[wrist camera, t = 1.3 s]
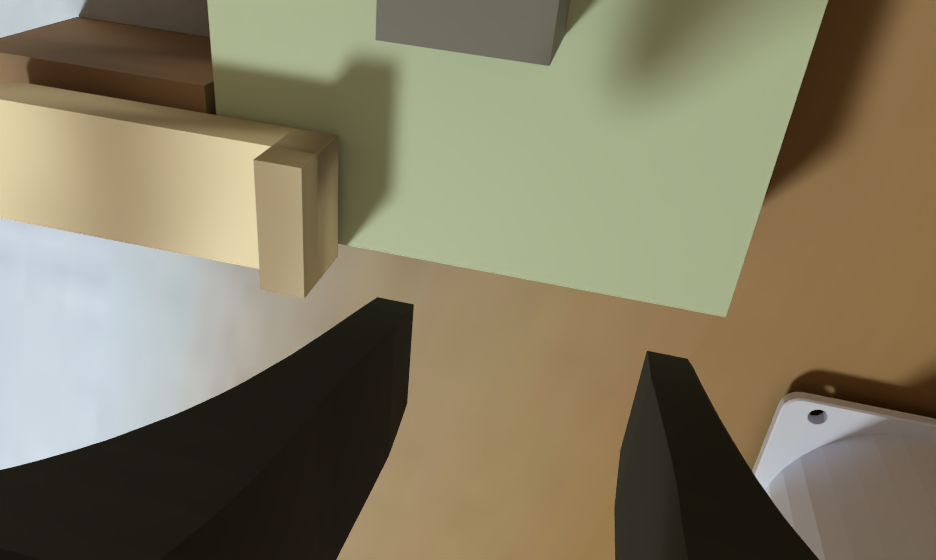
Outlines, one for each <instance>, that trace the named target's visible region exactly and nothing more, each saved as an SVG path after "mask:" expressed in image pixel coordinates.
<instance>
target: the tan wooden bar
mask: <svg viewBox="0 0 936 560" xmlns="http://www.w3.org/2000/svg"><path fill="white" fill-rule="evenodd" d="M0 216H1V218H4V219H9V220H14V221H19V222H24V223H29V224H34V225H39V226H44V227H49V228H54V229H59V230H64V231H69V232H74V233H80V234H85V235H90V236H95V237H100V238H105V239H110V240H115V241H120V242H125V243H130V244H135V245H140V246H145V247H150V248H155V249H161V250H166V251H171V252H176V253H181V254H186V255H191V256H196V257H201V258H206V259H211V260H216V261H221V262H226V263H231V264H236V265H242V266H247V267H252V268H257V269H260V287H261V290H264V291H269V292H274V293H279V294H284V295H289V296H294V297H299V298H303V299H304V298H305V297H306V296H307V295H308V293H309V292H310V291H311V289H312V288H313V287H314V286H315V284H316V283H317V282H318V281H319V279H320V278H321V277H322V276H323V274H324V273H325V272H326V271H327V269H328V268H329V267H330V266H331V264H332V263H333V262H334V260H335V259H336V258H337V257H338V136H337V135H331V134H325V133H319V132H313V131H308V130H302V129H296V128H290V127H284V126H278V125H272V124H266V123H260V122H254V121H248V120H242V119H236V118H231V117H225V116H219V115H213V114H207V113H201V112H195V111H189V110H183V109H177V108H171V107H165V106H159V105H154V104H148V103H142V102H136V101H130V100H124V99H118V98H112V97H106V96H100V95H94V94H88V93H83V92H77V91H71V90H65V89H59V88H53V87H47V86H41V85H35V84H29V83H23V82H17V81H11V80H10V81H7V82H4V83H1V84H0Z"/></svg>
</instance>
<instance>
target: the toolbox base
mask: <svg viewBox="0 0 936 560" xmlns="http://www.w3.org/2000/svg"><path fill="white" fill-rule="evenodd" d="M10 80H11V81H17V82H23V83H29V84H35V85H41V86H47V87H53V88H59V89H65V90H71V91H77V92H83V93H88V94H94V95H100V96H106V97H112V98H118V99H124V100H130V101H136V102H142V103H148V104H154V105H159V106H165V107H171V108H177V109H183V110H189V111H195V112H201V113H207V114H213V115H216V104H215V92H214V79H213V67H212V54H211V42H210V37H203V36H197V35H190V34H184V33H177V32H171V31H164V30H158V29H151V28H145V27H138V26H132V25H125V24H119V23H112V22H106V21H99V20H93V19H86V18H80V17H76V18H72V19H68V20H65V21H61V22H57V23H54V24H50V25H46V26H43V27H39V28H35V29H32V30H28V31H25V32H21V33H17V34H14V35H10V36H6V37H3V38H0V84H1V83H4V82H7V81H10Z"/></svg>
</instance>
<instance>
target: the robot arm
mask: <svg viewBox="0 0 936 560" xmlns="http://www.w3.org/2000/svg"><path fill="white" fill-rule="evenodd" d="M413 307H414V305H413V304H408V303H403V302H398V301H393V300H388V299H383V298H378V297H377V298H376V299H374V300H373V301H371V302H370V303H368V304H367V305H365V306H364V307H362V308H360V309H359V310H358V311H356V312H355V313H353V314H352V315H350V316H349V317H347V318H346V319H344V320H343V321H341V322H340V323H339V324H337V325H336V326H334V327H333V328H331V329H330V330H328V331H327V332H325V333H324V334H322V335H321V336H319V337H318V338H316V339H315V340H313V341H312V342H310V343H309V344H307V345H306V346H304V347H302V348H301V349H299V350H298V351H296V352H295V353H293V354H292V355H290V356H288V357H287V358H285V359H283V360H282V361H280V362H278V363H276V364H275V365H273V366H271V367H269V368H268V369H266V370H264V371H263V372H261V373H259V374H257V375H256V376H254V377H252V378H250V379H249V380H247V381H245V382H243V383H241V384H239V385H238V386H236V387H234V388H232V389H230V390H228V391H226V392H224V393H222V394H220V395H218V396H216V397H213V398H211V399H209V400H207V401H205V402H202V403H200V404H198V405H196V406H194V407H192V408H189V409H187V410H185V411H183V412H180V413H178V414H175V415H173V416H170V417H168V418H165V419H162V420H160V421H157V422H155V423H152V424H149V425H147V426H144V427H141V428H139V429H136V430H133V431H131V432H128V433H125V434H123V435H120V436H117V437H115V438H112V439H109V440H106V441H103V442H100V443H96V444H93V445H90V446H87V447H84V448H81V449H77V450H74V451H71V452H67V453H64V454H60V455H57V456H53V457H50V458H46V459H43V460H39V461H35V462H31V463H28V464H24V465H20V466H16V467H12V468H7V469H3V470H0V560H336V559H337V557H338V555H339V553H340V551H341V549H342V547H343V545H344V543H345V541H346V539H347V537H348V535H349V533H350V531H351V529H352V527H353V525H354V523H355V522H356V520H357V518H358V516H359V514H360V512H361V510H362V508H363V506H364V504H365V502H366V500H367V498H368V496H369V494H370V492H371V490H372V488H373V486H374V484H375V482H376V480H377V478H378V476H379V474H380V472H381V470H382V468H383V466H384V464H385V462H386V460H387V458H388V456H389V453H390V451H391V448H392V445H393V442H394V440H395V437H396V434H397V431H398V428H399V426H400V423H401V420H402V417H403V414H404V411H405V408H406V405H407V397H408V382H409V367H410V352H411V337H412V322H413ZM814 410H822V411H824V412H823V413H822V414H819V415H810V414H809V413H810V412H811V411H814ZM615 560H936V419H935V418H930V417H925V416H920V415H915V414H910V413H905V412H900V411H895V410H890V409H885V408H880V407H875V406H870V405H865V404H860V403H855V402H850V401H845V400H840V399H835V398H830V397H825V396H820V395H815V394H810V393H805V392H793V393H789V394H787V395H785V396H784V397H783V398H782V399H781V400H780V402H779V404H778V407H777V409H776V412H775V414H774V417H773V419H772V422H771V425H770V427H769V430H768V432H767V435H766V437H765V440H764V442H763V445H762V447H761V450H760V452H759V455H758V457H757V460H756V462H755V465H754V468H753V470H751V469H750V467H749V466H748V464H747V463H746V461H745V460H744V458H743V456H742V455H741V453H740V451H739V450H738V448H737V447H736V445H735V443H734V442H733V440H732V438H731V437H730V435H729V433H728V432H727V430H726V428H725V427H724V425H723V423H722V421H721V420H720V418H719V416H718V414H717V412H716V411H715V409H714V407H713V405H712V403H711V401H710V400H709V398H708V396H707V394H706V392H705V390H704V388H703V386H702V384H701V382H700V380H699V378H698V376H697V374H696V372H695V370H694V368H693V366H692V365H691V363H690V362H689V360H688V359H686V358H680V357H675V356H670V355H665V354H660V353H655V352H650V351H647V353H646V357H645V360H644V364H643V368H642V372H641V375H640V379H639V383H638V387H637V390H636V394H635V398H634V402H633V405H632V409H631V413H630V417H629V420H628V424H627V428H626V432H625V435H624V439H623V443H622V447H621V450H620V460H619V469H618V478H617V488H616V499H615Z"/></svg>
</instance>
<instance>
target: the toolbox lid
mask: <svg viewBox="0 0 936 560" xmlns="http://www.w3.org/2000/svg"><path fill="white" fill-rule="evenodd" d="M827 3H828V0H207V5H208V17H209V30H210V42H211V54H212V67H213V79H214V92H215V104H216V115H219V116H225V117H231V118H236V119H242V120H248V121H254V122H260V123H266V124H272V125H278V126H284V127H290V128H296V129H302V130H308V131H313V132H319V133H325V134H331V135H337V136H338V244H343V245H348V246H353V247H358V248H364V249H369V250H374V251H380V252H385V253H390V254H395V255H401V256H406V257H411V258H416V259H422V260H427V261H432V262H438V263H443V264H448V265H453V266H459V267H464V268H469V269H474V270H480V271H485V272H490V273H496V274H501V275H506V276H511V277H517V278H522V279H527V280H532V281H538V282H543V283H548V284H554V285H559V286H564V287H569V288H575V289H580V290H585V291H590V292H596V293H601V294H606V295H612V296H617V297H622V298H627V299H633V300H638V301H643V302H648V303H654V304H659V305H664V306H670V307H675V308H680V309H685V310H691V311H696V312H701V313H706V314H712V315H717V316H722V317H726V315H727V312H728V308H729V305H730V302H731V299H732V296H733V293H734V290H735V287H736V284H737V281H738V278H739V274H740V271H741V268H742V265H743V262H744V259H745V256H746V253H747V250H748V247H749V244H750V241H751V237H752V234H753V231H754V228H755V225H756V222H757V219H758V216H759V213H760V210H761V207H762V203H763V200H764V197H765V194H766V191H767V188H768V185H769V182H770V179H771V176H772V173H773V169H774V166H775V163H776V160H777V157H778V154H779V151H780V148H781V145H782V142H783V139H784V135H785V132H786V129H787V126H788V123H789V120H790V117H791V114H792V111H793V108H794V105H795V102H796V98H797V95H798V92H799V89H800V86H801V83H802V80H803V77H804V74H805V71H806V68H807V64H808V61H809V58H810V55H811V52H812V49H813V46H814V43H815V40H816V37H817V34H818V30H819V27H820V24H821V21H822V18H823V15H824V12H825V9H826V6H827Z"/></svg>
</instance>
